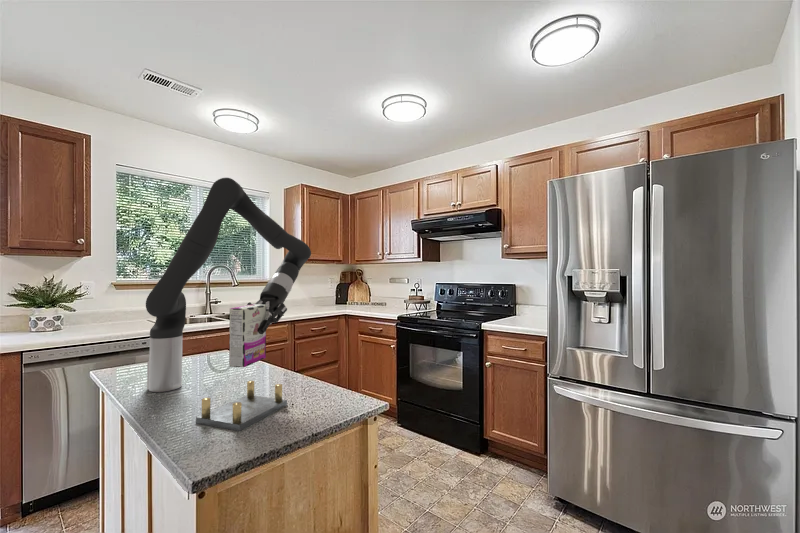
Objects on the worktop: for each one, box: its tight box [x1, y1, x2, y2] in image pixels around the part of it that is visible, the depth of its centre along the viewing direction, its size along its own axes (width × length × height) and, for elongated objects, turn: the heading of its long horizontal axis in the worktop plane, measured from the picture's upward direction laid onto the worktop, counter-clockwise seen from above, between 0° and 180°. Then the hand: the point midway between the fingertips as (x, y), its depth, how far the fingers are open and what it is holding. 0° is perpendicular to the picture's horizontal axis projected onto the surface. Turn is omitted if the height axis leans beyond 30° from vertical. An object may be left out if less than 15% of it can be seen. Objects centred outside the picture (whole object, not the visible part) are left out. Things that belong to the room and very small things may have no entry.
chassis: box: [195, 380, 288, 432], centre depth 99 cm, size 14×18×6 cm
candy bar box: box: [228, 303, 267, 368], centre depth 105 cm, size 11×5×16 cm, turn 169°
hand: (251, 331), depth 107 cm, fingers closed on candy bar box, 5 cm apart
